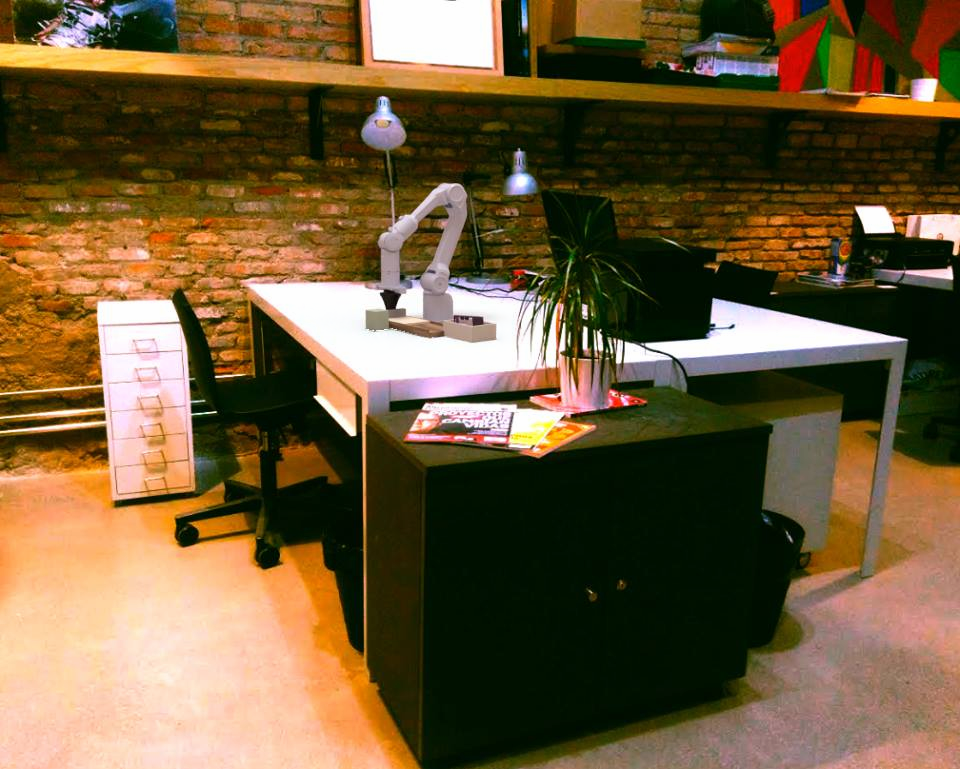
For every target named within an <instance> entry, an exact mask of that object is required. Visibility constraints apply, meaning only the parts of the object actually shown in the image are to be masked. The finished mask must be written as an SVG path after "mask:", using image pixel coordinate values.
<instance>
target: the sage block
mask: <svg viewBox="0 0 960 769" xmlns="http://www.w3.org/2000/svg"><path fill="white" fill-rule="evenodd" d="M366 329H369V330H368V331H370V330H374V331H376V330H384V329H389V311H388V310H386V309H384V308H383V309H382V308H372V309H371V308H370V309H365V330H366ZM389 330H390V329H389ZM374 331H373V332H374ZM376 332H377V331H376Z"/></svg>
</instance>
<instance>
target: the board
mask: <svg viewBox="0 0 960 769" xmlns="http://www.w3.org/2000/svg"><path fill="white" fill-rule="evenodd" d="M408 316H409V317H412V315H411V316H410V315H408ZM413 317H414V318H418V319H421V318H422V317H421V318H420V317H415V316H413ZM423 320H425V319H423ZM428 321H430V320H428ZM389 328H393V329H397V330H396V331H398V330H401V331H400V332H402V331H405V332H404V333H406V332H409V333H408V334H410V333H412V334H411V335H414V334H417V335H416V336H419V335H421V336H420V337H423V336H424V337H423V338H427V337H428V338H427V339H432V337H434V338H441V337H445V336H444V331H443V322H435V321H430V323H428V324H419V325H405V324H401V323H397V322H392V321H389ZM393 329H392V330H393Z"/></svg>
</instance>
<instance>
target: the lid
mask: <svg viewBox="0 0 960 769" xmlns="http://www.w3.org/2000/svg"><path fill="white" fill-rule="evenodd" d="M388 311H389V321H392V322H397V323H401V324H405V325H419V324H428V323H430V321H428V320H423V319H418V318H419V317H416V318H414V317H415V316H411V317H409V316H410V315H407V308H404V307H402V308H396V309H390V310H388Z"/></svg>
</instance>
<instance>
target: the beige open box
mask: <svg viewBox="0 0 960 769" xmlns="http://www.w3.org/2000/svg"><path fill="white" fill-rule="evenodd" d="M455 322H456V319H455ZM463 322H464V323H466V324H468V325H464V324H461V323H463ZM442 323H443V331H444V336H443V337H445V336H446V337H445V338H452V339H454V340H459V341H463V342H467V343H468V342H469V343H478V342H486V341H493V340H497V323H494V322H491V321H490V322H489V321H484V325H478V326H473V323H472V318H469V320H465V317H464V320H461V319H459V323H454V320H445V321H443V322H442Z"/></svg>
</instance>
